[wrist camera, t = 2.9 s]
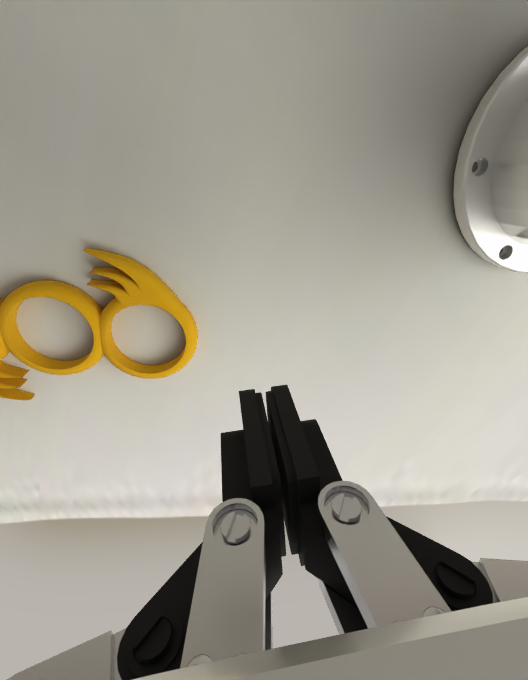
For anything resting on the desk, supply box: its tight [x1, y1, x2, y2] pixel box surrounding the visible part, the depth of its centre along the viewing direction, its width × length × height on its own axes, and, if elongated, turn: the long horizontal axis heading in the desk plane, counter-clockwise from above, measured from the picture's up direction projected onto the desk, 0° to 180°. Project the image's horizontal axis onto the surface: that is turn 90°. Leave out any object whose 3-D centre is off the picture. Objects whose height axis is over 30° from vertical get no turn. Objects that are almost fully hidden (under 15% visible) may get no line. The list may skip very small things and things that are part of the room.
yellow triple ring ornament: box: [0, 248, 197, 400], centre depth 20 cm, size 17×2×10 cm
